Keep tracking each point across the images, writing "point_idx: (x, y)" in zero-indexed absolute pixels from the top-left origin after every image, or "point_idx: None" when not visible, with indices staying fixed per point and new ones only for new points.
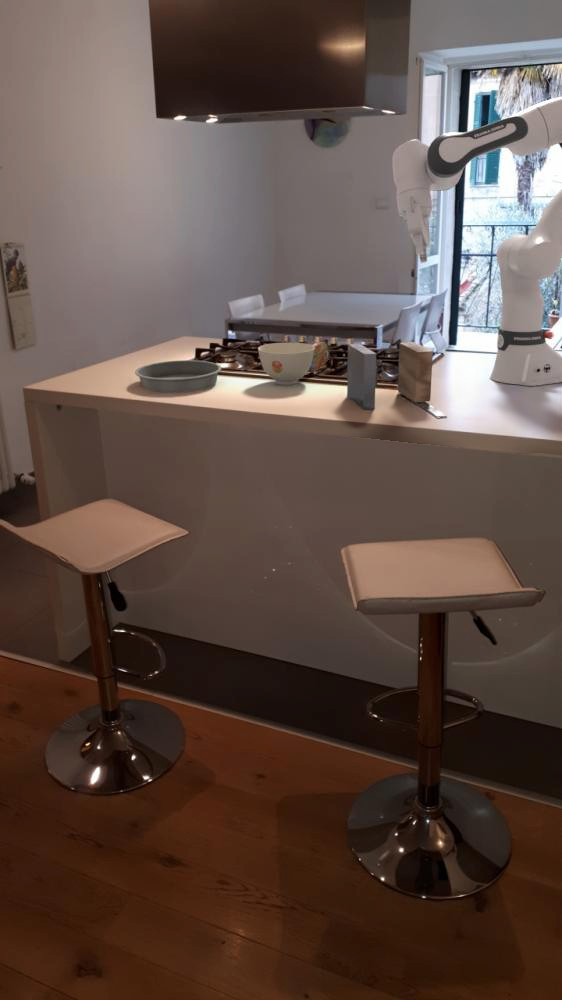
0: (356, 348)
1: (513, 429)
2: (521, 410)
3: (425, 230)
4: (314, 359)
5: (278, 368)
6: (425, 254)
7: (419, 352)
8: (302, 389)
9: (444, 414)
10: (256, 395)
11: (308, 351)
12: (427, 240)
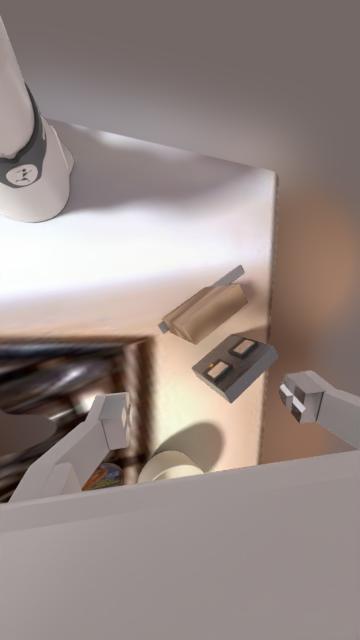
0: (253, 380)
1: (257, 203)
2: (199, 189)
3: (260, 631)
4: (104, 483)
5: (195, 472)
6: (121, 418)
7: (246, 300)
8: (183, 431)
9: (237, 267)
10: (216, 454)
11: (186, 464)
12: (96, 505)
